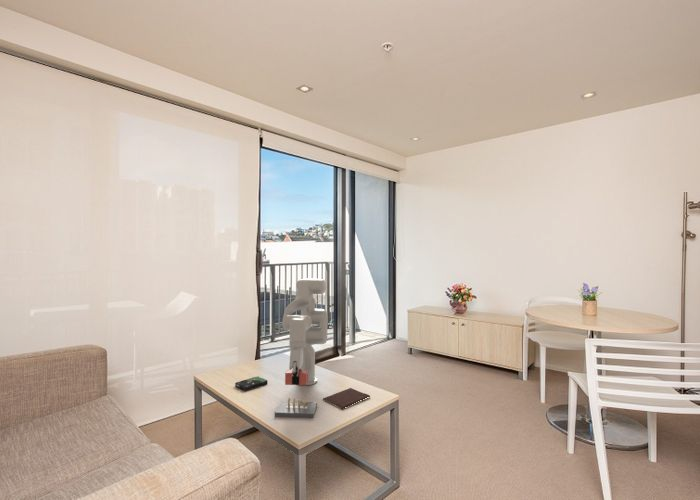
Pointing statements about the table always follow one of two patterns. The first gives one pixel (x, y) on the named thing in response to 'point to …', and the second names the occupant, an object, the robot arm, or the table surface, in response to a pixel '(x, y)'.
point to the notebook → (346, 398)
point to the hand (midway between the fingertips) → (296, 381)
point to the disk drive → (251, 383)
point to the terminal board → (296, 409)
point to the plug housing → (302, 375)
